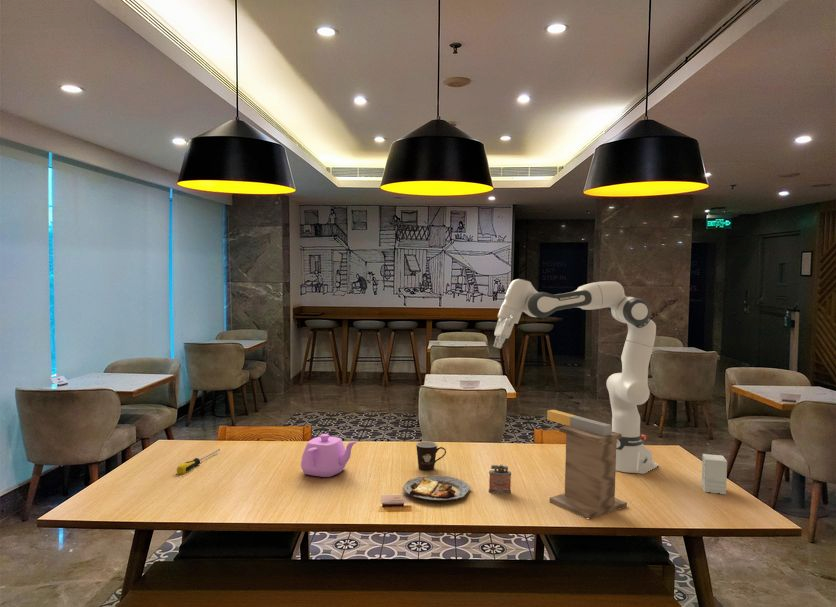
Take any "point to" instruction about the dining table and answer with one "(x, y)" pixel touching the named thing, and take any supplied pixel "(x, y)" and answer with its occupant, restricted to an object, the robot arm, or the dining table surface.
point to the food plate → (428, 488)
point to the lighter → (500, 480)
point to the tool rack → (589, 473)
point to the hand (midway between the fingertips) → (496, 347)
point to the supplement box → (714, 473)
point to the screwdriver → (190, 464)
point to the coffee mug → (427, 455)
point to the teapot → (325, 456)
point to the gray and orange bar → (579, 422)
